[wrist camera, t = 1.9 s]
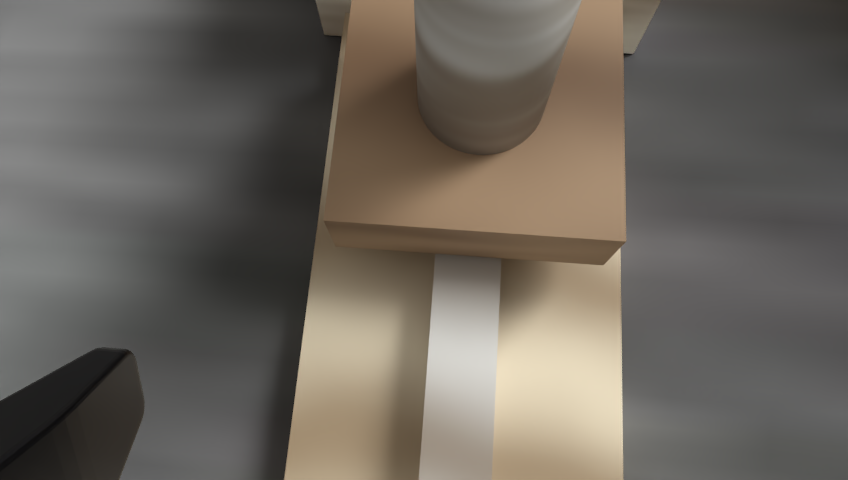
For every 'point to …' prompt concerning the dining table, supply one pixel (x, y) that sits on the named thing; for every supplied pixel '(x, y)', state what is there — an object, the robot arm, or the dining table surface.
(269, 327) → the dining table surface
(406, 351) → the rail track
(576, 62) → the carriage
